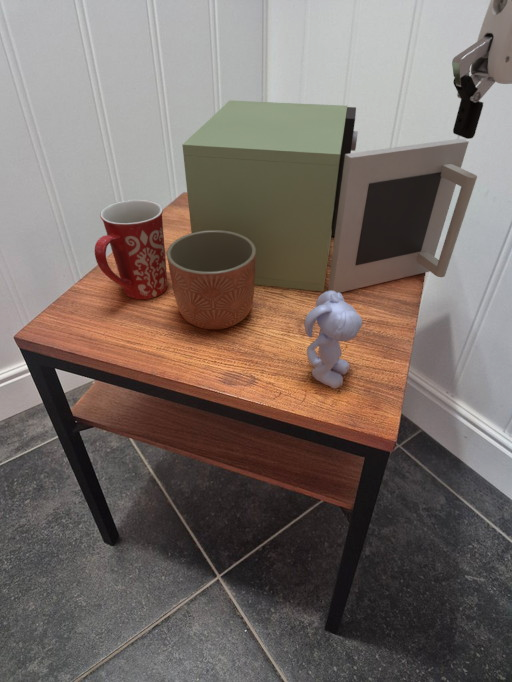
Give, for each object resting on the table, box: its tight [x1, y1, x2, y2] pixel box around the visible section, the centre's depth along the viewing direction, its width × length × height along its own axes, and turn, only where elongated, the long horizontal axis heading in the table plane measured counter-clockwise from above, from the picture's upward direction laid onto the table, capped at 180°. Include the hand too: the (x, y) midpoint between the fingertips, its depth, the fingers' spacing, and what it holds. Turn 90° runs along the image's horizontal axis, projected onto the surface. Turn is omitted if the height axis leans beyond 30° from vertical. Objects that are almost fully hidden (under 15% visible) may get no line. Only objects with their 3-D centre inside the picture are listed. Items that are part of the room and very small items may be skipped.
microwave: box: [182, 100, 359, 293], centre depth 77 cm, size 24×28×22 cm
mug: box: [94, 199, 168, 300], centre depth 68 cm, size 13×9×14 cm
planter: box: [166, 230, 256, 330], centre depth 64 cm, size 12×12×11 cm
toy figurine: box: [304, 290, 363, 389], centre depth 54 cm, size 7×6×12 cm
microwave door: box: [327, 138, 478, 293], centre depth 66 cm, size 7×20×22 cm, turn 112°
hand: (494, 132), depth 56 cm, fingers open, 9 cm apart
